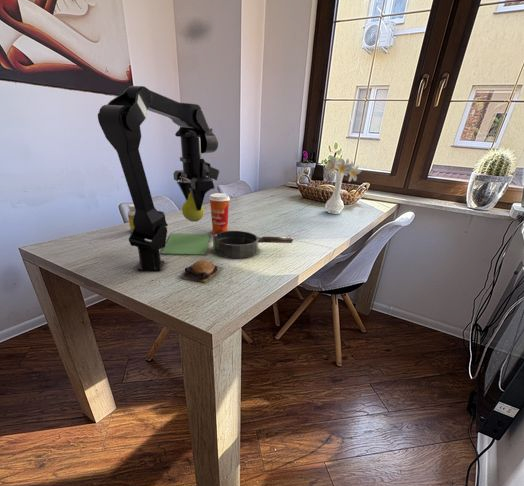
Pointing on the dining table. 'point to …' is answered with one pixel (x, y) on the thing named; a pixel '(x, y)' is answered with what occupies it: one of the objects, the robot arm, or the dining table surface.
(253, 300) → the dining table surface
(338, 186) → the flower vase
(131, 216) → the supplement bottle
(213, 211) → the paper cup
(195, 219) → the fruit
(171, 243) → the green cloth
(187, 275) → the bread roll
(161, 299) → the dining table surface
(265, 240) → the pan handle
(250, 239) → the pan
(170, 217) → the dining table surface
